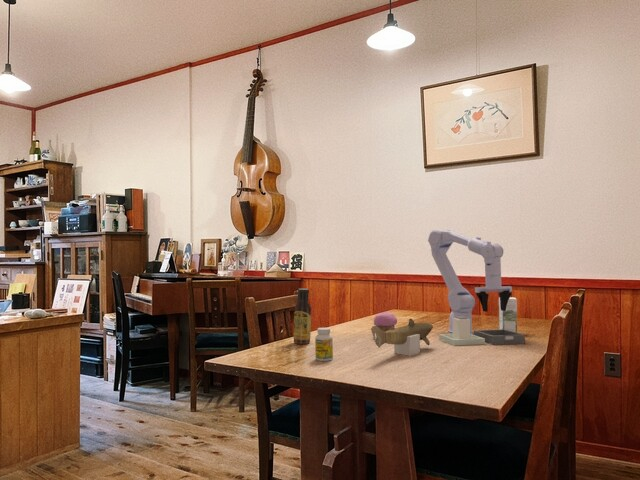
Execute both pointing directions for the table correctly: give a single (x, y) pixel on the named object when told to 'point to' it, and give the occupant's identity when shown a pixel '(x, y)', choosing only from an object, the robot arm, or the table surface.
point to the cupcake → (385, 321)
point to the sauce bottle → (302, 318)
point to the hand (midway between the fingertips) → (494, 311)
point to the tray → (461, 340)
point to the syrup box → (508, 315)
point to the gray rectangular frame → (500, 336)
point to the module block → (461, 328)
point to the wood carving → (404, 337)
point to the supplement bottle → (324, 345)
